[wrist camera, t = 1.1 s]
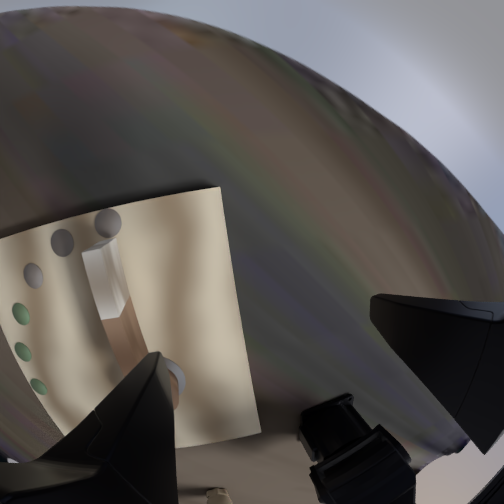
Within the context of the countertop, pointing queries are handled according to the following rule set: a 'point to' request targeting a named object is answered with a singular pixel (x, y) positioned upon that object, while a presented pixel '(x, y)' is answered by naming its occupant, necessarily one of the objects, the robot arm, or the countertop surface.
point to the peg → (118, 308)
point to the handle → (218, 496)
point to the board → (146, 308)
